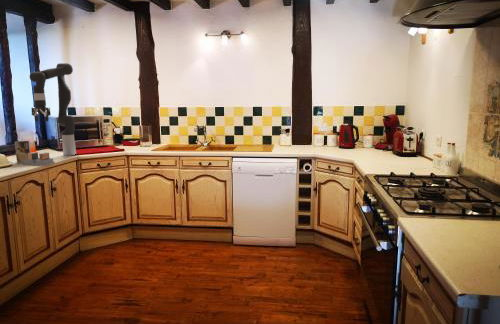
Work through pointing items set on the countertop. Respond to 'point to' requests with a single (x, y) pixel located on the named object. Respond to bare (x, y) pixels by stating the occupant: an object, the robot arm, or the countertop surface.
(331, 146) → the countertop surface
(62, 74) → the robot arm
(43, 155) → the dark brown block
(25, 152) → the coffee box
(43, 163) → the grey piece
